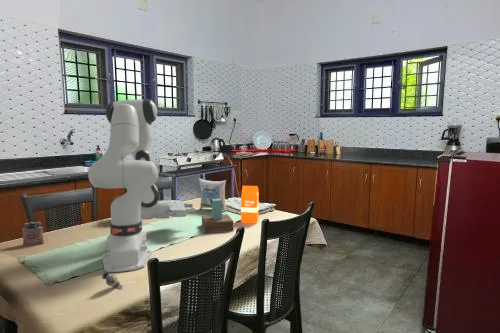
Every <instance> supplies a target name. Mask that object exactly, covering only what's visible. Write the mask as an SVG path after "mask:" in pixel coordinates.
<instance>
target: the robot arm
mask: <svg viewBox="0 0 500 333" xmlns="http://www.w3.org/2000/svg"><path fill="white" fill-rule="evenodd" d="M105 116H106V120H107V121H108V122H109V123H110V130H109V132H110V133H109V141H108V142H109V143H108V146H107V150H106V151H105V153H104V154H103V155H102V157H100V158H99V159H98V160H97V161H95V162H93V163H92V164H91V166H90V167H89V169H88V173H87V175H88V176H87V177H88V180H89V182H90V184H91V185H92V186H93V187H94V188H99V189H100V188H101V189H107V190H108V189H126V192H125V193H124V194H122V195H123V196H122V195H120V196H121V197H119V198H117V199H115V200H114V201H113V202H112V201H111V202H112V203H111V204H110V224H109V230H110V232H109V233H110V234H109V235H108V236H107V237H106V238H107V239H106V240H107V241H106V242H107V248H106V249H105V252H106V253H104V254H102V257H101V259H102V263H103V264H102V265H103V270H104V271H105V272H106V273H117V272H118V273H120V272H127V271H128V272H129V271H136V270H139V269H143V268H144V267H146V264H147V262H148V261H149V259H150V257H151V256H152V250H151V249H148V245H147V234H146V233H145V232H144V231H143V222H142V221H143V220H152V219H158V220H159V219H161V220H162V219H163V220H164V219H169V218H184V217H186V216H187V214H191V213H196V209H195V208H194V207H193V203H187V202H185V203H184V202H183V200H174V199H173V200H172V199H171V200H169V199H163V200H159V199H160V194H159V189H158V187H157V185H156V184H155V183H156V182H157V181H158V178H159V169H158V166H157V165H156V164H155V162H153V161H152V158H153V152H154V139H153V137H154V136H153V133H152V132H153V131H152V128H151V125H152V123H153V122H155V121H156V119H157V116H158V108H157V106H156V103H155V102H154V101H153V100H152V99H150V98H148V99H147V98H144V99H137V98H135V99H130V98H129V99H122V100H117V101H111V102H109V103H108V104H107V105H106V107H105ZM129 155H131V156H132V157H133V159H130V160H129V159H127V160H126V159H125V158H126V157H127V156H129ZM117 270H118V271H117Z"/></svg>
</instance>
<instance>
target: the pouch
mask: <svg viewBox="0 0 500 333" xmlns="http://www.w3.org/2000/svg"><path fill="white" fill-rule="evenodd" d="M198 181H199V188H200V206H199V209H200V210H201V209H205V208H207V209H208V208H209V209H212V199H221V200H222V211H224V212H226V211H228V210H227V207H226V195H225V194H226V182H227V180H226V179H225V180H221V181H218V180H217V181H213V180H208V179H207V180H206V179H202V178H200V177H199V178H198Z"/></svg>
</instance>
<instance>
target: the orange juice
mask: <svg viewBox="0 0 500 333" xmlns="http://www.w3.org/2000/svg"><path fill="white" fill-rule="evenodd" d="M259 195H260V193H259V186H258V185H242V189H241V196H240V223H244V224H247V223H248V224H257V223H258V221H259V201H260V200H259V197H260V196H259Z"/></svg>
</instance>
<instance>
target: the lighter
mask: <svg viewBox="0 0 500 333" xmlns="http://www.w3.org/2000/svg"><path fill="white" fill-rule="evenodd" d="M41 225H42V222H41V221H30V222H26V223H24V226H25V227H23V228H21V231H22V241H23V242H22V246H23V247H25V246H26V247H29V246H31V247H32V246H41V245H43V244H45V241H44V231H43V230H44V227H43V226H41Z"/></svg>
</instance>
